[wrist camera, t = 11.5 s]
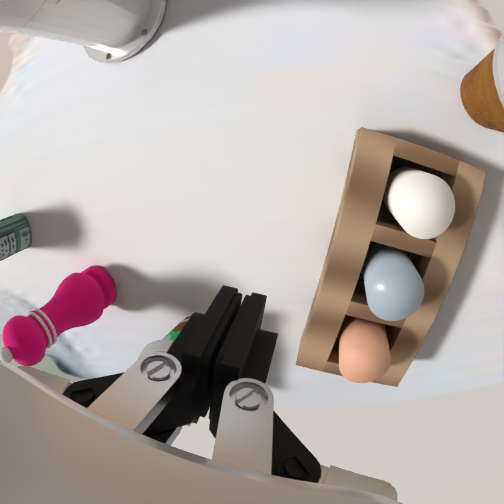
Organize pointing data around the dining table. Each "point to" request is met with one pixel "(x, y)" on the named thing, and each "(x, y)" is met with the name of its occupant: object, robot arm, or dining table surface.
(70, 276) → the pepper mill
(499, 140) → the dining table surface
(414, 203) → the white egg
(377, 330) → the terracotta egg
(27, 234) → the dark green cylinder
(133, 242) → the dining table surface
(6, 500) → the robot arm
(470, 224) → the wooden egg rack
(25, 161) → the dining table surface
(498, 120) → the disposable coffee cup
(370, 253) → the slate egg
